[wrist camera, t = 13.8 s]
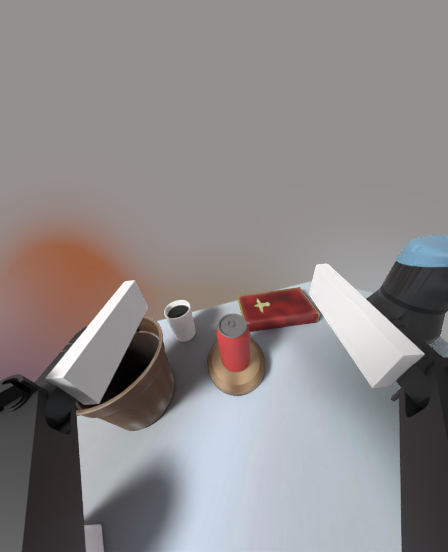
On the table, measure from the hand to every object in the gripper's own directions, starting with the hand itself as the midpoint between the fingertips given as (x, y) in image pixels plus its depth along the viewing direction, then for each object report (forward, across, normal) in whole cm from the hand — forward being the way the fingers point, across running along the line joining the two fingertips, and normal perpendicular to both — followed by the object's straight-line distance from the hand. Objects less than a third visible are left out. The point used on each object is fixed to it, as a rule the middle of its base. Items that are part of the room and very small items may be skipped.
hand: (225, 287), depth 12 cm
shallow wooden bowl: (+11, 0, -32) cm, 34 cm away
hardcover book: (+26, +13, -33) cm, 44 cm away
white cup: (+21, -14, -32) cm, 41 cm away
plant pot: (+6, -20, -32) cm, 38 cm away
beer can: (+11, 0, -30) cm, 31 cm away
